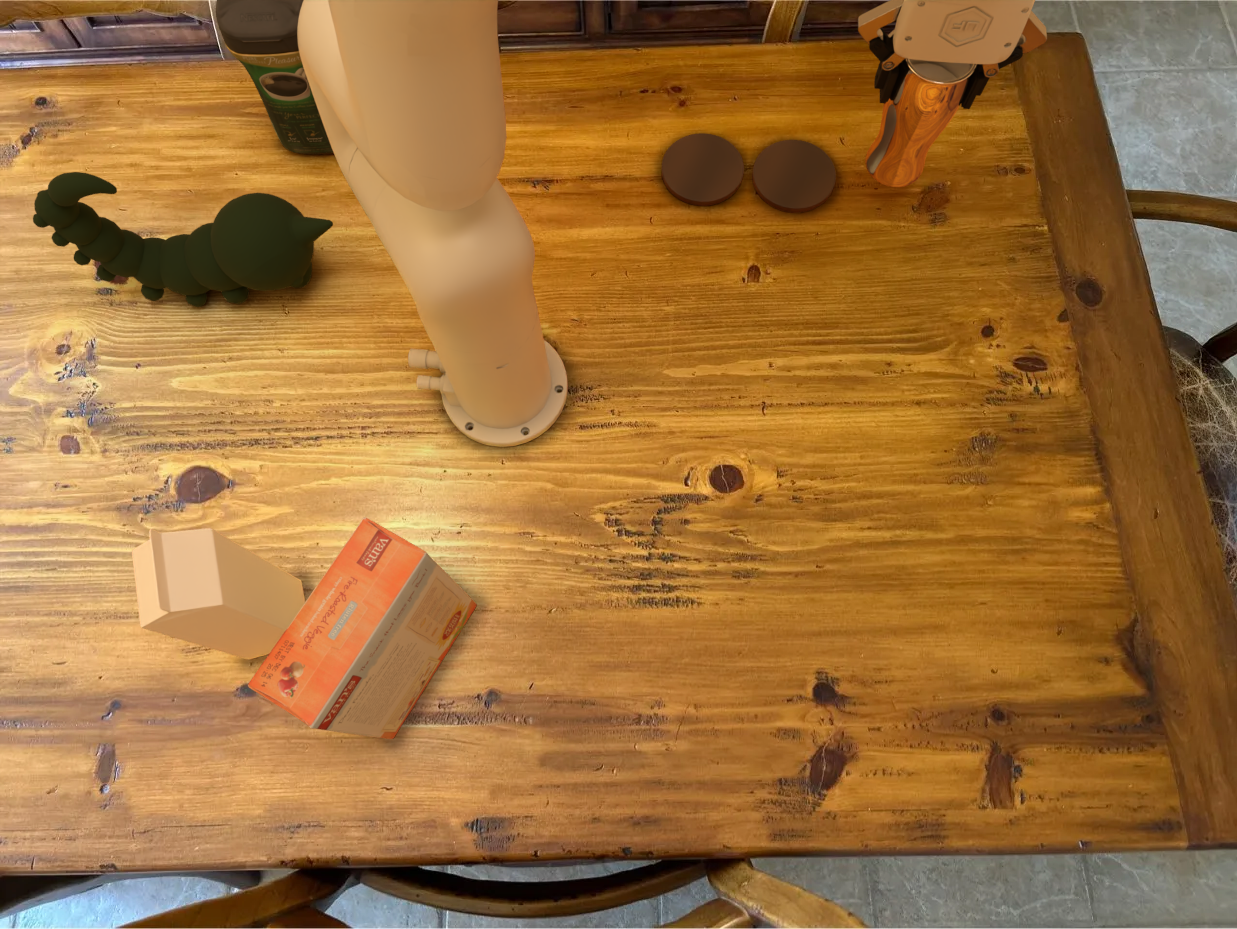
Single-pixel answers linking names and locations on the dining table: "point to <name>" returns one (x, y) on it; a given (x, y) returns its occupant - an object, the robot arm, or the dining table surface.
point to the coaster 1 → (702, 169)
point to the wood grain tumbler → (916, 118)
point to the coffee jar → (275, 67)
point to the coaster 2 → (794, 176)
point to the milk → (213, 592)
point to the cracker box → (366, 637)
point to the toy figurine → (187, 244)
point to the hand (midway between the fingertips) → (924, 93)
